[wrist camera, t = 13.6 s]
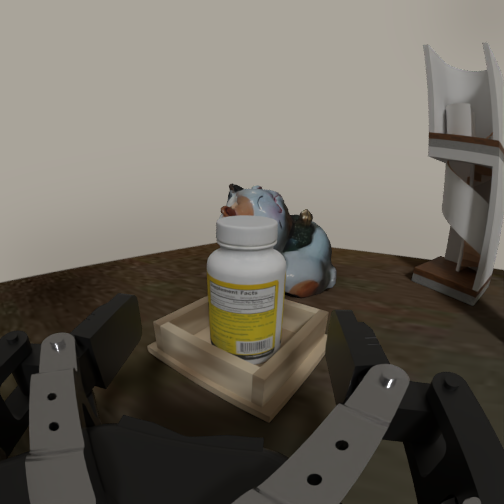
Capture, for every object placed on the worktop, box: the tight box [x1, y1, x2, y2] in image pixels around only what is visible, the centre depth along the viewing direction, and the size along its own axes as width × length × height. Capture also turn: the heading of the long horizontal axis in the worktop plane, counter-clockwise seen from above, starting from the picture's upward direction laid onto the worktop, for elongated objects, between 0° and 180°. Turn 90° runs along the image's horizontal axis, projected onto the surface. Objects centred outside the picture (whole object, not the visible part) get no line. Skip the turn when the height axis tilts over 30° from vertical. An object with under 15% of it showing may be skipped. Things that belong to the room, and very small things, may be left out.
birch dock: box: [148, 296, 329, 423], centre depth 21 cm, size 11×10×3 cm
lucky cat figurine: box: [219, 184, 336, 298], centre depth 35 cm, size 15×12×14 cm
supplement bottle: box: [207, 215, 286, 365], centre depth 20 cm, size 5×5×10 cm
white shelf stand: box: [412, 43, 504, 306], centre depth 30 cm, size 11×11×35 cm
